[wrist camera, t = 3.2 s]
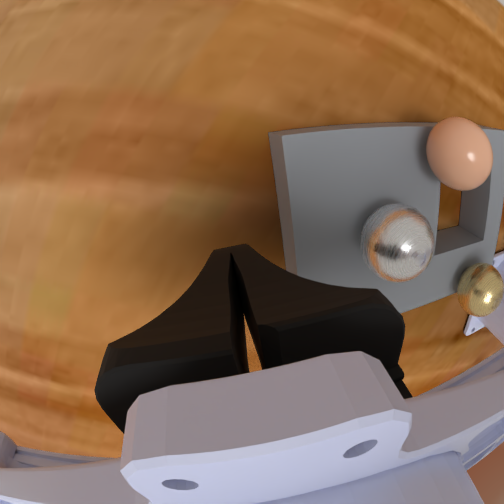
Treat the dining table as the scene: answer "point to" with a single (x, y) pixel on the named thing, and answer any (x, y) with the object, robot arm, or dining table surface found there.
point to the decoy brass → (480, 289)
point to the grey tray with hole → (376, 205)
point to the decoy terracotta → (459, 153)
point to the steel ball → (397, 242)
